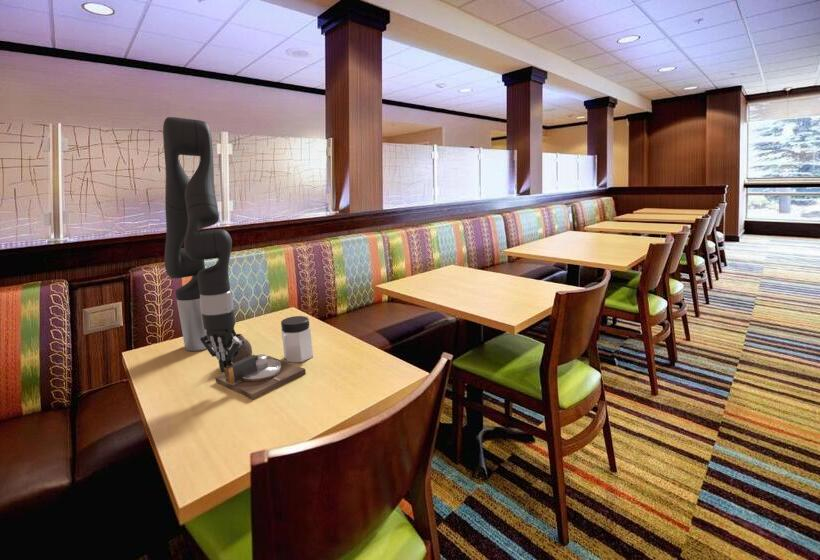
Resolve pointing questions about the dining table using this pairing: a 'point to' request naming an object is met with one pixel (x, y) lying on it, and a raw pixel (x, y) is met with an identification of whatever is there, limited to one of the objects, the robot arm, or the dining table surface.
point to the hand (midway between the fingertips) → (226, 371)
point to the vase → (242, 350)
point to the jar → (296, 339)
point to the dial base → (262, 387)
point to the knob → (252, 369)
